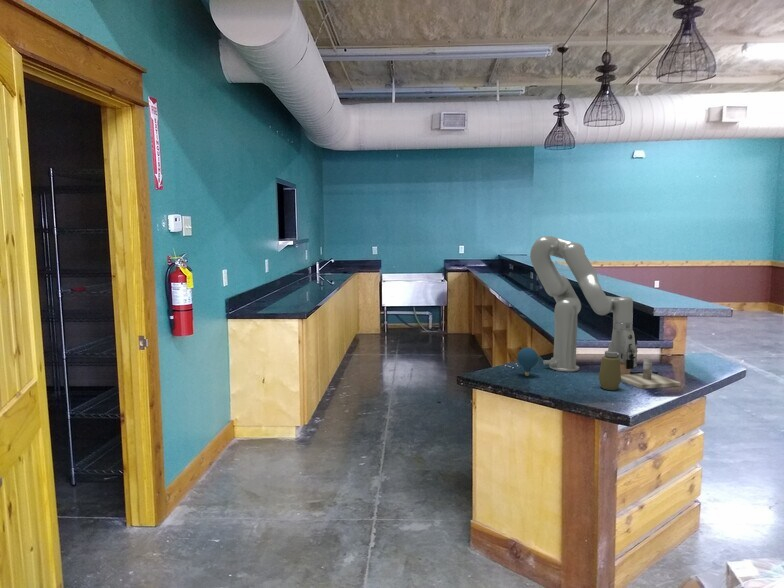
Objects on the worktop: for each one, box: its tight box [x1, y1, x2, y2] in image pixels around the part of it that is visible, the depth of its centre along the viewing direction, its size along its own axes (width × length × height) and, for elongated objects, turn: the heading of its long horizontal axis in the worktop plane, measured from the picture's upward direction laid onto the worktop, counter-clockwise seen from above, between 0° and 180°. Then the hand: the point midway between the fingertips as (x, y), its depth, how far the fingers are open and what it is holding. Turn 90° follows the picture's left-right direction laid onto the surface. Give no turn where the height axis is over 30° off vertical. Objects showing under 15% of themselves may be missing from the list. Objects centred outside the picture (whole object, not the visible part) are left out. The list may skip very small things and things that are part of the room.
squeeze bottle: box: [598, 342, 622, 391], centre depth 210 cm, size 8×8×18 cm
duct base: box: [621, 357, 682, 390], centre depth 220 cm, size 18×16×10 cm
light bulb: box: [517, 347, 539, 377], centre depth 228 cm, size 8×8×12 cm
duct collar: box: [620, 362, 631, 375], centre depth 232 cm, size 6×6×5 cm
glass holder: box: [618, 332, 638, 367], centre depth 248 cm, size 9×14×15 cm, turn 144°
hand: (622, 366), depth 232 cm, fingers open, 9 cm apart
